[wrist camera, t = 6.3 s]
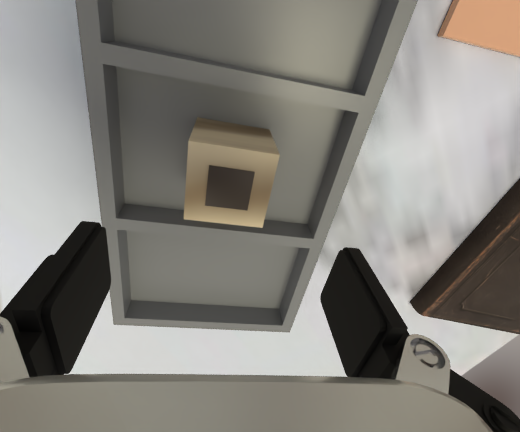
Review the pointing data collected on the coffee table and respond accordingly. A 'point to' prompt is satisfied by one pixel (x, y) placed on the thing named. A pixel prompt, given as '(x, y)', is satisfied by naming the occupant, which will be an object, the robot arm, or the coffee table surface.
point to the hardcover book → (481, 274)
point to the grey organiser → (232, 111)
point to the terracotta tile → (484, 24)
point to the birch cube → (229, 173)
